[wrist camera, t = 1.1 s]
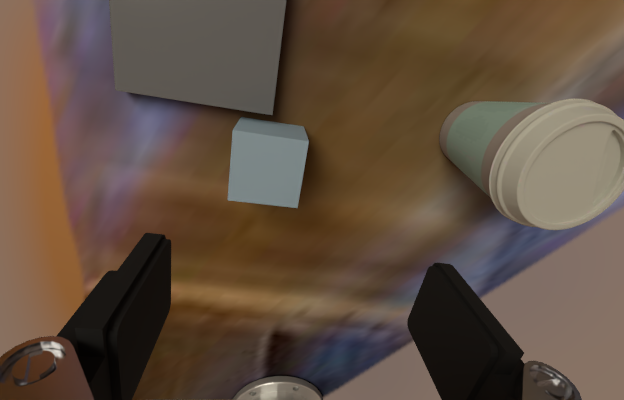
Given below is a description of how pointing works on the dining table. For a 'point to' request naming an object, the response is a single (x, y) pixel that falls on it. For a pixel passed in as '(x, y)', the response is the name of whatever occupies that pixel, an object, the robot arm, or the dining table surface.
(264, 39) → the board
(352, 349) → the dining table surface
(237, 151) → the cube
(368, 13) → the dining table surface
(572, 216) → the coffee cup
